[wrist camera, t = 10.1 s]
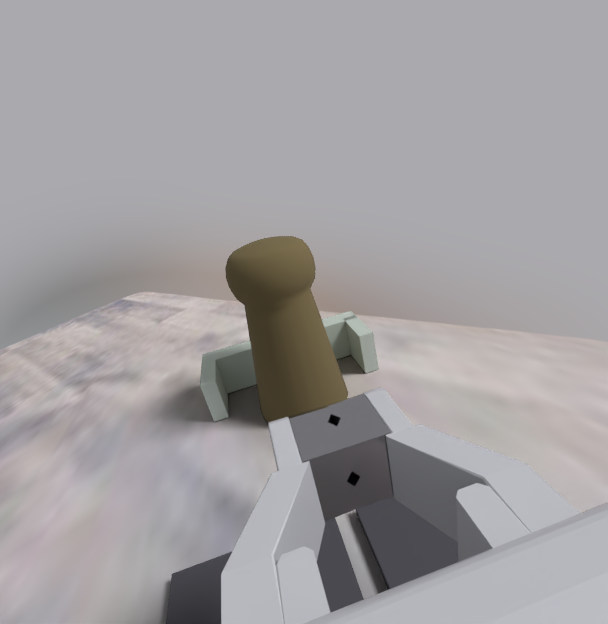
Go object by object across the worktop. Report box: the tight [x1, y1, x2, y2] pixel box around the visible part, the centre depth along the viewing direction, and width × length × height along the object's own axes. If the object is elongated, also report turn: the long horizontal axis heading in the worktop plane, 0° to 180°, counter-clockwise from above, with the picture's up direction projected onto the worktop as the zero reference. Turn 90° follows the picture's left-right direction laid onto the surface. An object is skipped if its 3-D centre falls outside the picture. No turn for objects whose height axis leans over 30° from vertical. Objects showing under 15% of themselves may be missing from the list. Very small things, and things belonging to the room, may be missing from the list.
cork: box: [226, 236, 348, 423], centre depth 22 cm, size 6×6×11 cm
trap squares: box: [166, 497, 459, 624], centre depth 12 cm, size 15×7×1 cm, turn 103°
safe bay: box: [200, 311, 379, 422], centre depth 26 cm, size 12×4×3 cm, turn 103°
